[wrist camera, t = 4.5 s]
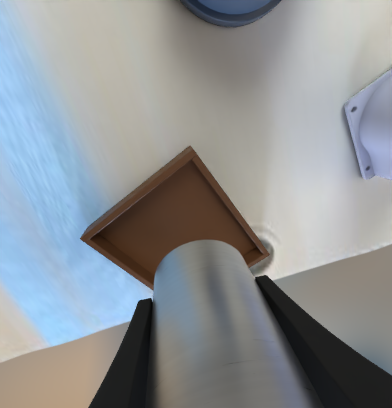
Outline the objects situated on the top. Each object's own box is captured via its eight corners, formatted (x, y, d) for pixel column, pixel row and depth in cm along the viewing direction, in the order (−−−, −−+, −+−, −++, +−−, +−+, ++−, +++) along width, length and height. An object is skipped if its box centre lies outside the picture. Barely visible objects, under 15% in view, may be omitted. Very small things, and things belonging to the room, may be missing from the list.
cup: (259, 276, 12) (353, 438, 6) (191, 317, 13) (214, 496, 7) (213, 220, 10) (293, 398, 4) (133, 276, 11) (90, 494, 5)
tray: (262, 244, 23) (270, 255, 21) (180, 296, 25) (181, 310, 23) (190, 145, 17) (193, 148, 15) (87, 227, 19) (79, 238, 17)
